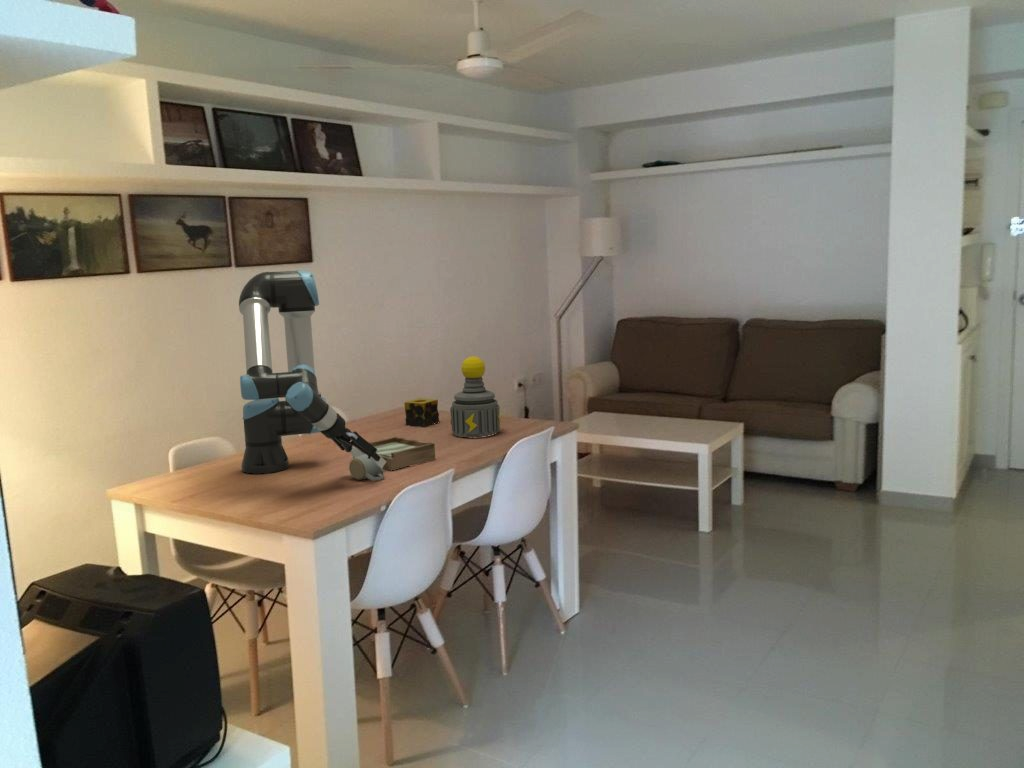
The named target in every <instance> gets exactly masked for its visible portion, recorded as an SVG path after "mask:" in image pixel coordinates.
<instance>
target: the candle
mask: <svg viewBox="0 0 1024 768" xmlns="http://www.w3.org/2000/svg"><path fill="white" fill-rule="evenodd" d="M438 399H439V398H438ZM438 399H435V398H434V399H433V398H415V399H411V400H407V401H405V402H403V403H404V412H405V413H404V414H405V425H406V426H407V425H410V426H409V427H417V426H421V427H420V428H427V427H430V426H429V425H431V426H433V425H435V424H434V423H437V424H439V423H440V413H439V409H438V405H439V403H438V402H439V401H438ZM438 422H439V423H438ZM432 424H433V425H432ZM426 426H427V427H426Z"/></svg>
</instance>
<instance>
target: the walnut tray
mask: <svg viewBox="0 0 1024 768" xmlns="http://www.w3.org/2000/svg"><path fill="white" fill-rule="evenodd" d="M369 443H370V444H371V445H372V446H374V447H375V448H376V449H377V451H376V452H377V453H378V454H379V455H380V456H381V457H382V458H383V459H384V460H385V461H386V463H385V465H384V466H383V468H382V470H384V469H386V470H385V471H389V470H390V472H393V471H392V470H394V471H397V470H396V469H398V470H400V469H399V468H402V469H404V468H403V467H405V468H407V467H406V466H409V467H411V466H410V465H413V466H415V465H414V464H417V465H419V464H418V463H420V464H423V463H422V462H424V463H428V462H431V461H435V460H436V446H435V443H433V442H428V441H424V440H417V439H411V438H408V437H407V438H406V437H402V436H401V437H400V436H393V437H389V438H384V439H380V440H374V441H371V442H369ZM361 452H362V451H361ZM362 453H363V452H362ZM363 454H365V453H363ZM352 458H353V459H354V457H353V456H352ZM353 459H352V460H353ZM427 461H428V462H427Z"/></svg>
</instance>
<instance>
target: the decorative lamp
mask: <svg viewBox="0 0 1024 768" xmlns="http://www.w3.org/2000/svg"><path fill="white" fill-rule="evenodd" d="M485 372H486V365H485V362H484V361H483V359H481V358H480V357H478V356H473V355H472V356H468V357H467V358H465V359H464V360H463V361H462V363H461V373H462V375H463V376H464V377H465V379H464V383H463V388H462V391H459V392H456V393H455V394H454V395H453V399H454V401H452V402H451V407H450V409H449V410H450V411H449V412H450V421H449V422H450V425H451V432H452V433H453V435H454V436H455V437H456V436H458V437H457V438H460V437H482V436H488V435H492V434H495V433H497V432H498V433H499V431H500V429H501V415H500V414H501V412H500V411H501V410H500V409H501V407H500V405H499V404H498V400H497V399H495V397H496V395H495V393H494V392H493V391H491V390H487V389H486V387H485V383H484V381H483V376H484V375H485ZM498 433H497V434H498Z"/></svg>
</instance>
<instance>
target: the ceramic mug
mask: <svg viewBox="0 0 1024 768" xmlns="http://www.w3.org/2000/svg"><path fill="white" fill-rule="evenodd" d="M348 467H349V472H350V474H351V476H352V477H353V478H354V479H355V480H358V481H359V480H361V481H362V480H366V479H368V480H370V481H374V482H377V481H376V480H379V481H382V480H383V479H384V477H385V471H384V469H381V468H379V467H378V466H377V465H376V464H375V463H374V462H373V461H372V460H371V459H368V455H366V454H363V455H361V456H358V457H356V458H354V459H352V460H350V462H349V466H348ZM378 475H380V476H378ZM381 479H382V480H381Z"/></svg>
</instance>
